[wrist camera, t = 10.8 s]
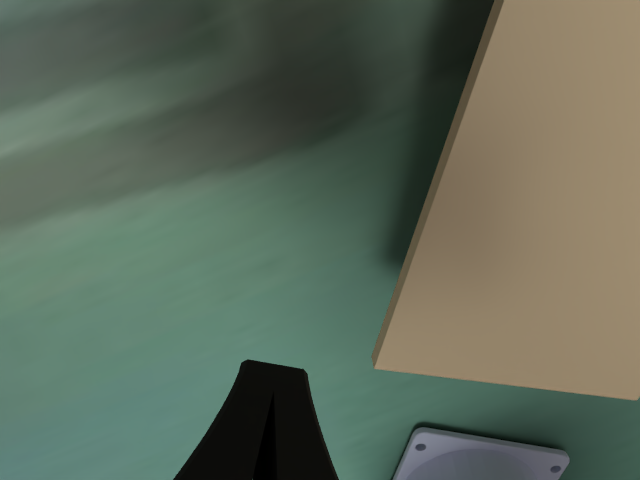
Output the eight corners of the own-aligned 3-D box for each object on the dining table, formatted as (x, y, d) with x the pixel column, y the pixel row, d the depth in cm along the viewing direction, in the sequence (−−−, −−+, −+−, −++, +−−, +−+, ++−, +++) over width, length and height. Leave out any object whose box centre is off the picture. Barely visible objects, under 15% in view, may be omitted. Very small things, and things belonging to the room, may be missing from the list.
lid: (374, 368, 18) (370, 354, 18) (636, 400, 19) (625, 386, 20) (549, -128, 11) (534, -124, 12) (925, -16, 13) (895, -18, 13)
